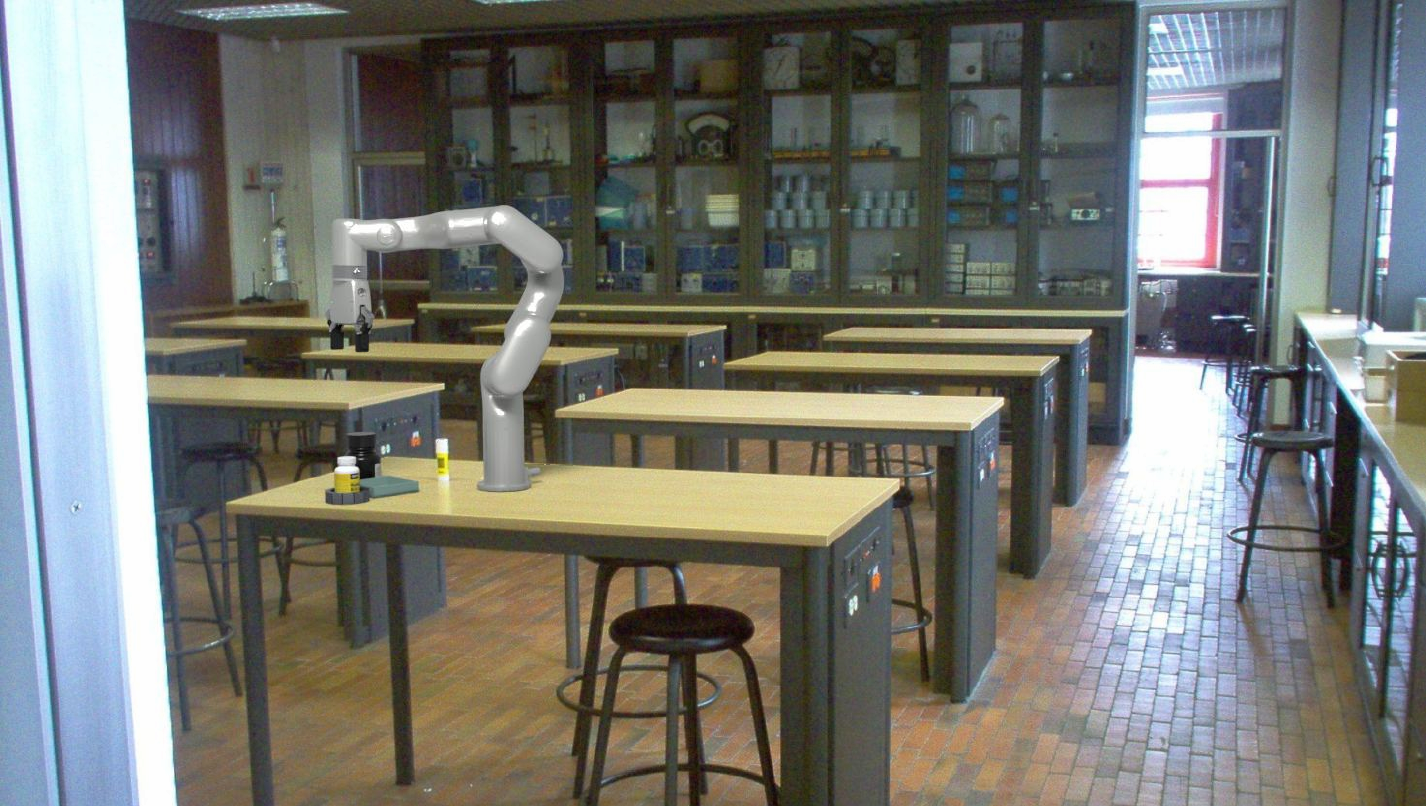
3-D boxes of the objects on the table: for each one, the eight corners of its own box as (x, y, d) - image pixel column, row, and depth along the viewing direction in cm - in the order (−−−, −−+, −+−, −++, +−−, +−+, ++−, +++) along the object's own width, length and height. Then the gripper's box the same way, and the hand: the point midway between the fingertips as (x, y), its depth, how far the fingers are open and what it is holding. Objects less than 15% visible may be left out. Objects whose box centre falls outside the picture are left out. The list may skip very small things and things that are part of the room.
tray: (388, 485, 313) (388, 475, 313) (418, 491, 305) (418, 481, 305) (344, 492, 304) (344, 481, 304) (374, 498, 296) (373, 487, 296)
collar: (354, 495, 300) (353, 484, 300) (377, 500, 294) (377, 489, 294) (317, 501, 293) (316, 490, 293) (340, 506, 287) (340, 495, 287)
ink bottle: (387, 484, 316) (386, 434, 314) (351, 487, 311) (350, 437, 309) (373, 478, 324) (371, 430, 322) (337, 482, 319) (336, 432, 317)
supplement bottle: (353, 503, 290) (351, 459, 289) (330, 502, 292) (329, 458, 290) (364, 499, 296) (363, 456, 295) (342, 498, 297) (340, 455, 296)
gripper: (386, 275, 292) (386, 352, 294) (341, 273, 304) (342, 348, 305) (357, 274, 287) (357, 353, 288) (313, 273, 298) (313, 349, 300)
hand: (349, 350), depth 297 cm, fingers open, 9 cm apart
